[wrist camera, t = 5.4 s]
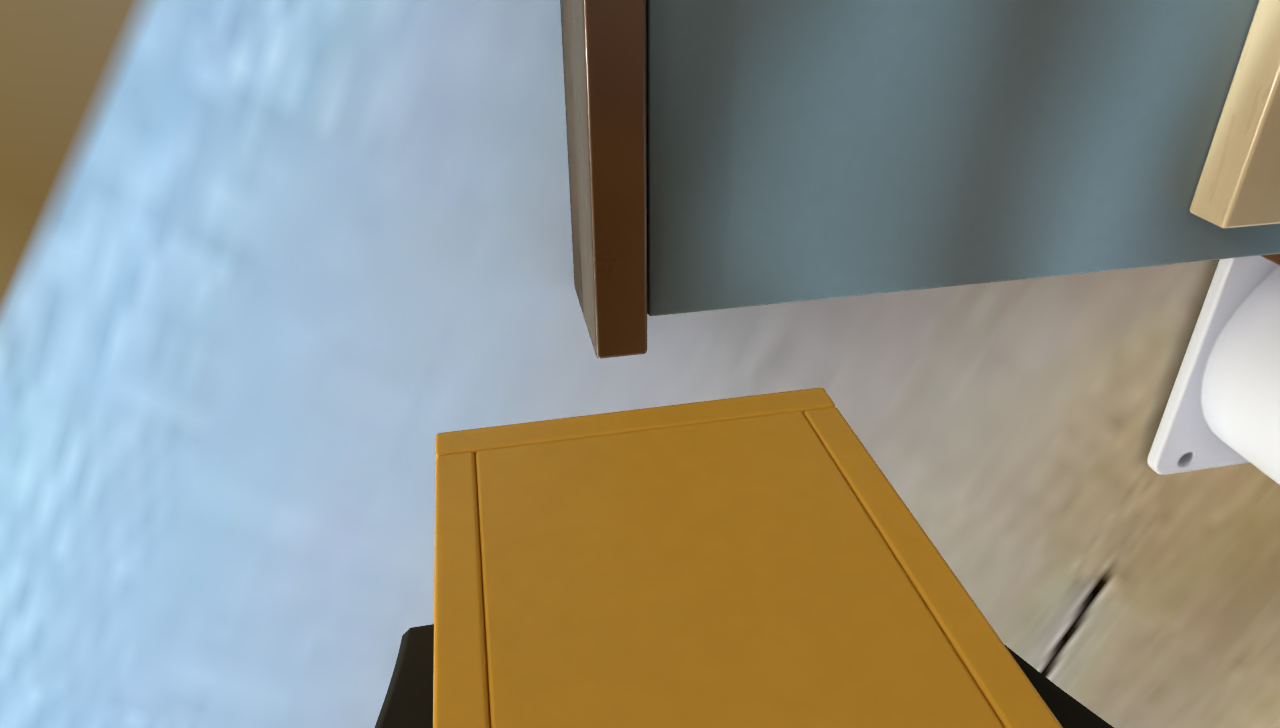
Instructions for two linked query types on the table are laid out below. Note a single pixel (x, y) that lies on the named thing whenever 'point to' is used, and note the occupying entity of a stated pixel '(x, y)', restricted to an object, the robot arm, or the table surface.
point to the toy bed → (907, 146)
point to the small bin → (700, 580)
